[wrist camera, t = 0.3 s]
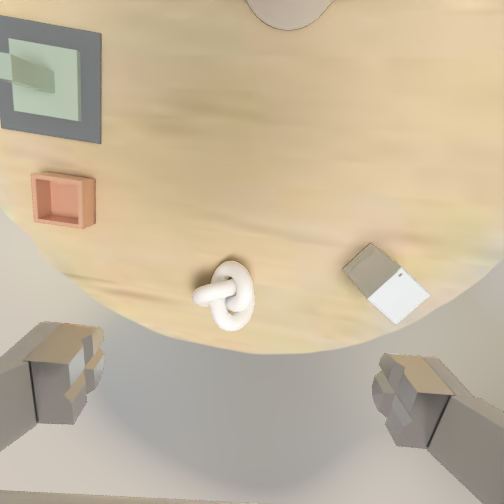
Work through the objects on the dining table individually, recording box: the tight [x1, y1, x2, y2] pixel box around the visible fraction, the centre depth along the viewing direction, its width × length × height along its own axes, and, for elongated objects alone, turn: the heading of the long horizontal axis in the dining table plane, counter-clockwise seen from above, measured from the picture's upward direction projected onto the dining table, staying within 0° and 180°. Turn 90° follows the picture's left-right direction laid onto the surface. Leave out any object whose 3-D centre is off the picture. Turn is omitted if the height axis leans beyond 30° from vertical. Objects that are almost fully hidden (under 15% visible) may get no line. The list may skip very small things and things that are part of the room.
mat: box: [0, 15, 101, 144], centre depth 48 cm, size 16×16×1 cm
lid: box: [0, 38, 82, 122], centre depth 43 cm, size 10×10×10 cm
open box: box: [31, 172, 96, 229], centre depth 52 cm, size 8×8×4 cm
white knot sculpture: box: [192, 261, 255, 332], centre depth 55 cm, size 11×12×9 cm
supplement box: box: [343, 243, 430, 325], centre depth 53 cm, size 7×7×13 cm
